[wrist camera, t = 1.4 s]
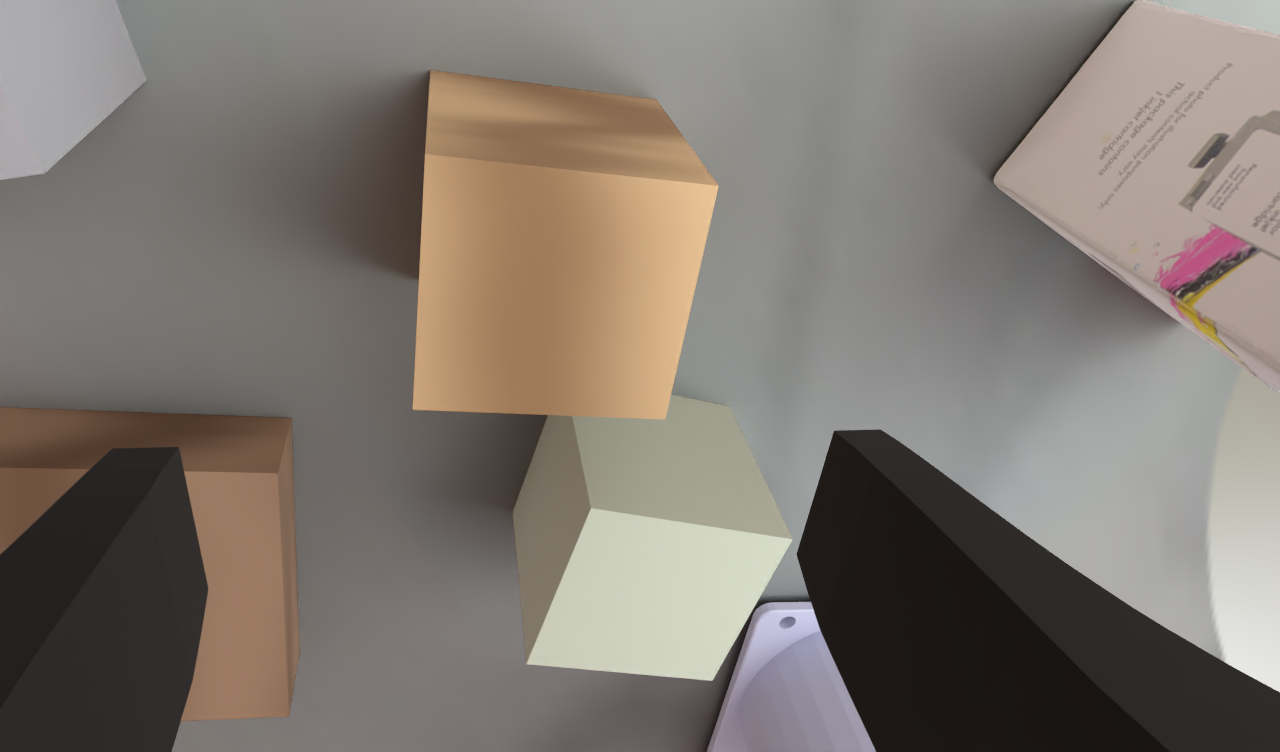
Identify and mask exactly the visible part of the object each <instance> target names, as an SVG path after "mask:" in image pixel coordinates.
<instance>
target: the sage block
mask: <svg viewBox="0 0 1280 752" xmlns="http://www.w3.org/2000/svg"><path fill="white" fill-rule="evenodd" d="M513 523H514V534H515V545H516V556H517V567H518V578H519V589H520V599H521V610H522V621H523V632H524V643H525V654H526V664H530V665H542V666H553V667H564V668H575V669H586V670H597V671H609V672H620V673H631V674H642V675H653V676H664V677H676V678H687V679H698V680H709V681H713V679H714V677H715V675H716V674H717V672H718V670H719V668H720V666H721V665H722V663H723V661H724V659H725V658H726V656H727V654H728V652H729V651H730V649H731V647H732V645H733V644H734V642H735V640H736V638H737V637H738V635H739V633H740V631H741V630H742V628H743V626H744V624H745V622H746V621H747V619H748V617H749V615H750V614H751V612H752V610H753V608H754V607H755V605H756V603H757V601H758V600H759V598H760V596H761V594H762V593H763V591H764V589H765V587H766V586H767V584H768V582H769V580H770V578H771V577H772V575H773V573H774V571H775V570H776V568H777V566H778V564H779V563H780V561H781V559H782V557H783V556H784V554H785V552H786V550H787V549H788V547H789V545H790V543H791V542H792V540H793V539H792V537H791V535H790V532H789V530H788V528H787V526H786V524H785V522H784V520H783V518H782V515H781V513H780V511H779V509H778V507H777V505H776V503H775V501H774V498H773V496H772V494H771V492H770V490H769V488H768V486H767V484H766V481H765V479H764V477H763V475H762V473H761V471H760V469H759V467H758V464H757V462H756V460H755V458H754V456H753V454H752V452H751V450H750V447H749V445H748V443H747V441H746V439H745V437H744V435H743V433H742V430H741V428H740V426H739V424H738V422H737V420H736V418H735V416H734V413H733V411H732V409H731V407H730V406H726V405H721V404H716V403H711V402H706V401H701V400H696V399H692V398H687V397H682V396H677V395H672V394H671V397H670V401H669V406H668V410H667V415H666V419H639V418H613V417H587V416H561V415H548V416H547V419H546V422H545V424H544V427H543V430H542V433H541V435H540V438H539V441H538V444H537V446H536V449H535V452H534V455H533V458H532V460H531V463H530V466H529V469H528V471H527V474H526V477H525V480H524V483H523V485H522V488H521V491H520V494H519V496H518V499H517V502H516V505H515V507H514V510H513Z"/></svg>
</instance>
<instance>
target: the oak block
mask: <svg viewBox="0 0 1280 752" xmlns="http://www.w3.org/2000/svg"><path fill="white" fill-rule="evenodd" d="M718 187H719V186H718V184H717V183H716V182H715V180H714V179H713V177H712V176H711V175H710V173H709V172H708V170H707V169H706V168H705V166H704V165H703V163H702V162H701V161H700V159H699V158H698V156H697V155H696V154H695V152H694V151H693V150H692V148H691V147H690V145H689V144H688V143H687V141H686V140H685V138H684V137H683V136H682V134H681V133H680V131H679V130H678V129H677V127H676V126H675V124H674V123H673V122H672V120H671V119H670V118H669V116H668V115H667V113H666V112H665V111H664V109H663V108H662V106H661V105H660V104H659V102H658V101H657V100H655V99H647V98H639V97H632V96H624V95H617V94H609V93H601V92H594V91H586V90H578V89H571V88H563V87H556V86H548V85H540V84H533V83H525V82H518V81H510V80H502V79H495V78H487V77H479V76H472V75H464V74H457V73H449V72H441V71H434V70H430V84H429V100H428V115H427V131H426V146H425V165H424V185H423V206H422V227H421V248H420V268H419V289H418V310H417V330H416V351H415V372H414V393H413V410H432V411H458V412H484V413H510V414H535V415H561V416H587V417H613V418H639V419H666V415H667V410H668V406H669V401H670V397H671V393H672V388H673V384H674V379H675V375H676V371H677V366H678V362H679V358H680V353H681V349H682V344H683V340H684V336H685V331H686V327H687V323H688V318H689V314H690V309H691V305H692V301H693V296H694V292H695V287H696V283H697V279H698V274H699V270H700V266H701V261H702V257H703V252H704V248H705V244H706V239H707V235H708V231H709V226H710V222H711V217H712V213H713V209H714V204H715V200H716V195H717V191H718Z"/></svg>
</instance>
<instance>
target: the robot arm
mask: <svg viewBox="0 0 1280 752" xmlns="http://www.w3.org/2000/svg"><path fill="white" fill-rule="evenodd" d="M797 557H798V560H799V564H800V567H801V570H802V574H803V577H804V581H805V584H806V588H807V591H808V594H809V598H810V601H811V602H771V603H766V604H763V605H761V606H760V607H759V608H757V609H756V610H755V612H754V614H753V616H752V619H751V622H750V625H749V628H748V631H747V634H746V637H745V640H744V643H743V646H742V649H741V652H740V655H739V658H738V661H737V664H736V667H735V670H734V673H733V675H732V678H731V681H730V684H729V687H728V690H727V693H726V696H725V699H724V702H723V705H722V708H721V711H720V714H719V717H718V720H717V723H716V726H715V729H714V732H713V735H712V738H711V741H710V744H709V747H708V750H707V752H1280V693H1279V692H1278V691H1276V690H1274V689H1272V688H1270V687H1268V686H1267V685H1265V684H1263V683H1261V682H1259V681H1257V680H1255V679H1254V678H1252V677H1250V676H1248V675H1246V674H1244V673H1242V672H1241V671H1239V670H1237V669H1235V668H1233V667H1232V666H1230V665H1228V664H1226V663H1225V662H1223V661H1221V660H1220V659H1218V658H1216V657H1214V656H1213V655H1211V654H1209V653H1208V652H1206V651H1204V650H1202V649H1201V648H1199V647H1197V646H1196V645H1194V644H1192V643H1190V642H1189V641H1187V640H1185V639H1183V638H1182V637H1180V636H1178V635H1177V634H1175V633H1173V632H1171V631H1170V630H1168V629H1166V628H1165V627H1163V626H1161V625H1160V624H1158V623H1157V622H1155V621H1153V620H1152V619H1150V618H1148V617H1147V616H1145V615H1144V614H1142V613H1140V612H1139V611H1137V610H1136V609H1134V608H1132V607H1131V606H1129V605H1128V604H1126V603H1125V602H1123V601H1122V600H1120V599H1119V598H1117V597H1116V596H1114V595H1113V594H1111V593H1110V592H1108V591H1107V590H1105V589H1104V588H1102V587H1101V586H1099V585H1098V584H1096V583H1095V582H1093V581H1092V580H1090V579H1089V578H1087V577H1086V576H1084V575H1083V574H1081V573H1080V572H1078V571H1077V570H1075V569H1074V568H1072V567H1071V566H1069V565H1068V564H1066V563H1065V562H1064V561H1062V560H1061V559H1059V558H1058V557H1056V556H1055V555H1054V554H1052V553H1051V552H1049V551H1048V550H1046V549H1045V548H1044V547H1042V546H1041V545H1039V544H1038V543H1037V542H1035V541H1034V540H1032V539H1031V538H1030V537H1028V536H1027V535H1025V534H1024V533H1023V532H1021V531H1020V530H1019V529H1017V528H1016V527H1014V526H1013V525H1012V524H1010V523H1009V522H1008V521H1006V520H1005V519H1003V518H1002V517H1001V516H999V515H998V514H997V513H995V512H994V511H993V510H991V509H990V508H989V507H987V506H986V505H985V504H983V503H982V502H980V501H979V500H978V499H976V498H975V497H974V496H972V495H971V494H970V493H968V492H967V491H966V490H964V489H963V488H962V487H960V486H959V485H958V484H956V483H955V482H954V481H952V480H951V479H950V478H948V477H947V476H946V475H944V474H943V473H942V472H940V471H939V470H938V469H936V468H935V467H934V466H932V465H931V464H929V463H928V462H927V461H925V460H924V459H923V458H921V457H920V456H919V455H917V454H916V453H914V452H913V451H912V450H910V449H909V448H907V447H906V446H904V445H903V444H902V443H900V442H899V441H897V440H896V439H894V438H893V437H891V436H890V435H888V434H886V433H885V432H883V431H882V430H848V431H834V433H833V437H832V440H831V443H830V446H829V450H828V453H827V456H826V460H825V463H824V466H823V469H822V473H821V476H820V479H819V483H818V486H817V489H816V492H815V496H814V499H813V502H812V506H811V509H810V512H809V515H808V519H807V522H806V525H805V529H804V532H803V535H802V538H801V542H800V545H799V548H798V552H797ZM207 595H208V584H207V579H206V574H205V570H204V565H203V560H202V555H201V550H200V546H199V541H198V536H197V531H196V526H195V522H194V517H193V512H192V507H191V502H190V498H189V493H188V488H187V483H186V478H185V473H184V469H183V464H182V459H181V454H180V449H179V447H152V448H112V449H111V450H110V451H109V452H108V453H107V454H106V455H105V456H104V457H103V458H101V459H100V460H99V461H98V462H97V463H96V464H95V465H94V466H93V467H92V468H91V469H89V470H88V471H87V472H86V473H85V474H84V475H83V476H82V477H81V478H80V479H79V480H78V481H77V482H76V483H75V484H74V485H73V486H71V487H70V488H69V489H68V490H67V491H66V492H65V493H64V494H63V495H62V496H61V497H60V498H59V499H58V500H57V501H56V502H55V503H54V504H53V505H52V506H51V507H50V508H49V509H48V510H46V511H45V512H44V513H43V514H42V515H41V516H40V517H39V518H38V519H37V520H36V521H35V522H34V523H33V524H32V525H31V526H30V527H29V528H28V529H27V530H26V531H24V532H23V533H22V534H21V535H20V536H19V537H18V538H17V539H16V540H15V541H14V542H13V543H12V544H11V545H10V546H9V547H8V548H7V549H6V550H4V551H3V552H2V553H1V554H0V752H171V751H172V748H173V745H174V741H175V738H176V735H177V731H178V728H179V725H180V721H181V718H182V715H183V712H184V708H185V705H186V702H187V698H188V695H189V691H190V688H191V685H192V681H193V676H194V671H195V665H196V660H197V655H198V649H199V644H200V638H201V632H202V626H203V620H204V614H205V607H206V601H207ZM785 617H786V618H785Z"/></svg>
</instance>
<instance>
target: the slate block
mask: <svg viewBox="0 0 1280 752" xmlns="http://www.w3.org/2000/svg"><path fill="white" fill-rule="evenodd" d="M146 81H147V79H146V77H145V74H144V72H143V69H142V66H141V64H140V61H139V59H138V56H137V54H136V51H135V49H134V46H133V44H132V41H131V38H130V36H129V33H128V31H127V28H126V26H125V23H124V21H123V18H122V16H121V13H120V10H119V8H118V5H117V3H116V0H0V180H3V179H10V178H17V177H24V176H31V175H38V174H45V173H46V172H47V171H48V170H49V169H50V168H51V167H52V166H54V165H55V164H56V163H57V162H58V161H59V160H60V159H61V158H62V157H63V156H64V155H66V154H67V153H68V152H69V151H70V150H71V149H72V148H73V147H74V146H75V145H77V144H78V143H79V142H80V141H81V140H82V139H83V138H84V137H85V136H86V135H88V134H89V133H90V132H91V131H92V130H93V129H94V128H95V127H96V126H97V125H98V124H100V123H101V122H102V121H103V120H104V119H105V118H106V117H107V116H108V115H109V114H111V113H112V112H113V111H114V110H115V109H116V108H117V107H118V106H119V105H120V104H122V103H123V102H124V101H125V100H126V99H127V98H128V97H129V96H130V95H131V94H132V93H134V92H135V91H136V90H137V89H138V88H139V87H140V86H141V85H142V84H143V83H145V82H146Z"/></svg>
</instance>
